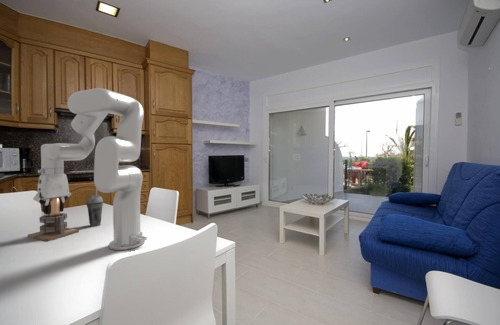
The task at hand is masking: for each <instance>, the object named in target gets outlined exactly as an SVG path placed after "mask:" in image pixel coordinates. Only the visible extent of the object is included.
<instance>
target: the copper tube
mask: <svg viewBox="0 0 500 325" xmlns="http://www.w3.org/2000/svg"><path fill="white" fill-rule="evenodd" d="M49 205H50V214H47V218H51V217H58V216H60V213H61V212H60V197H56V198H50V200H49ZM58 225H59V222H53V223H47V227H52V226H58Z"/></svg>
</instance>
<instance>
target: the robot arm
mask: <svg viewBox="0 0 500 325" xmlns="http://www.w3.org/2000/svg"><path fill="white" fill-rule="evenodd" d="M66 104H67V108H68V110H69V111H70V112H71V113H72V114H75V116H74V118H73V119H72V121H71V122H70V126H71V128H72V129H73V130H74V131H75V132H76V133H78V134H79V135H81V136H83V137H82V139H81V140H80V141H79V142H78V143H67V142H62V143H61V142H59V143H58V142H56V143H44V144H42V145H41V146H40V160H41V161H40V163H41V164H40V167H41V168H40V169H38V170H37V173H38V174H41V175H39V178H38V183H37V193H36V194H35V195H34V197H33V198H32V200H33V201H35V202H37V203H39V204H41V205H42V213H43V215H45V214H50V205H49V200H50V198H56V197H60V213H63V212H64V208H65V207H64V205H65V204H64V203H65V202H66V200H67V199H68V198H69V197H70V196H72V192H71V191H70V187H69V182H68V181H69V180H68V177H67V174H65V172H64V171H65V168H64V166H65V165H64V163H65V162H67V161H68V162H69V161H82V160H85V159H86V158H87V157H88V156H89V155H90V154H91V153H92V151H93V150H94V148H95V150H94V164H93V167H94V168H93V183H94V187H95V188H97V191H99V192H101V193H104V194H105V193H107V194H108V193H109V194H110V193H115V195H114V197H113V200H112V201H113V202H112V206H113V207H112V208H113V209H112V210H113V211H112V212H113V213H112V214H113V215H112V217H113V219H112V220H113V222H112V223H113V240H112V241H110V242H109V244H108V246H109V249H110V250H115V251H125V250H130V249H135V248H138V247H140V246H142V245H143V244H144V243H145V242H146V240H147V239H148V237H147V236H144V235H143V231H141V191H142V186H143V182H144V181H143V180H144V179H143V176H144V175H143V173H142V170H141V169H140V168H138V167H137V166H135V165H132V164H131V165H127V164H126V165H120V164H119V163H132V162H135V161H137V160H138V159H139V158H140V155H141V148H142V147H141V143H142V129H143V128H142V127H143V122H144V117H145V116H144V114H145V112H144V107H143V106H142V104H141V102H139V101H138V100H137V99H135V98H133V97H131V96H129V95H125V94H123V93H119V92H117V91H114V90H109V89H106V88H102V87H96V88H95V87H94V88H91V89H89V88H88V89H84V90H79V91H75V92H73V93H72V94H70V96H69V97H68V100H67V103H66ZM108 114H110V115H117V116H120V117H121V119H120V120H119V122H118V123H117V126H116V136H105V137H102V138H101V139H100V140H99V141H98V142H97V144H95V143H96V138H95V132H96V130H97V129H98V128H99V127H100V125H101V124H102V122H104V120H105V119H106V117H107V116H108ZM95 145H96V146H95ZM64 161H65V162H64Z"/></svg>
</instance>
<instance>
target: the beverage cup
mask: <svg viewBox="0 0 500 325" xmlns="http://www.w3.org/2000/svg"><path fill="white" fill-rule="evenodd" d="M95 188H96V187H95ZM85 205H86V207H87V215H88V223H89V227H91V228H93V227H99V226H101V225H102V224H101V223H102V214H103V205H104V198H103V197H102V196H101V195H99V194H98V189H97V188H96V189H95V194H92V195H89V197H88V198H87V200H86V203H85Z"/></svg>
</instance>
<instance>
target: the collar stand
mask: <svg viewBox="0 0 500 325" xmlns="http://www.w3.org/2000/svg"><path fill="white" fill-rule="evenodd" d="M67 219H68V214H67V213H65V212H60V216H58V217H51V218H47V214H43V215H42V216H40V217H39V223H41V225H40V226H39V231H37V232H33V233H29V234H27V238H30V237H31V239H36V240H42V241H46V242H51V241H53V240H57V239H61V238H63V237H64V238H65V237H66V236H67V237H68V236H70V235H74V234H77V233H79V232H80V230H79V229H75V228H70V227H68V222H67V221H66V220H67ZM53 222H59V225H58V226H52V227H47V223H53Z"/></svg>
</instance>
